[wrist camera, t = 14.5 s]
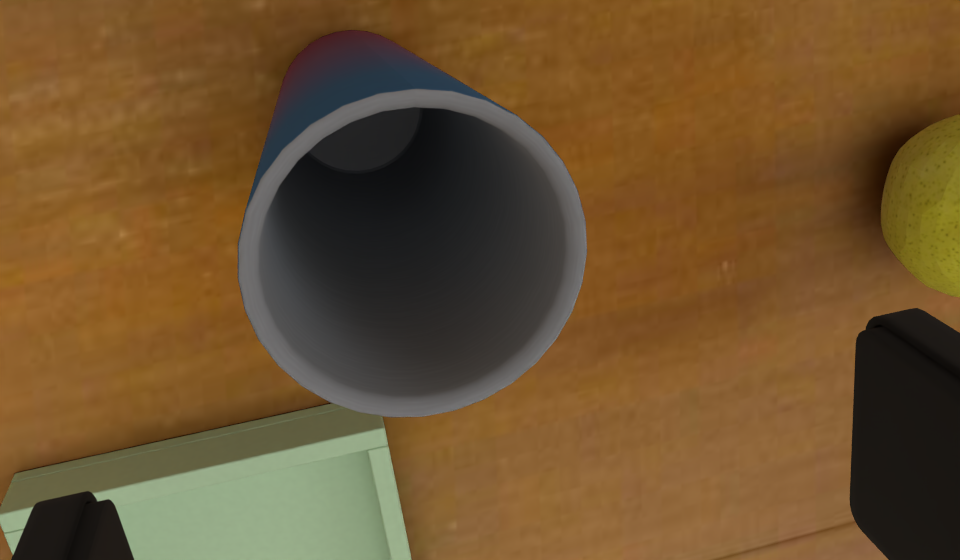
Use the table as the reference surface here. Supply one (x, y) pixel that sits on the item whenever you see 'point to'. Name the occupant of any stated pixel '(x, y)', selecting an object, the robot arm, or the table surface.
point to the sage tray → (241, 491)
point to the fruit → (926, 206)
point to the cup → (404, 234)
